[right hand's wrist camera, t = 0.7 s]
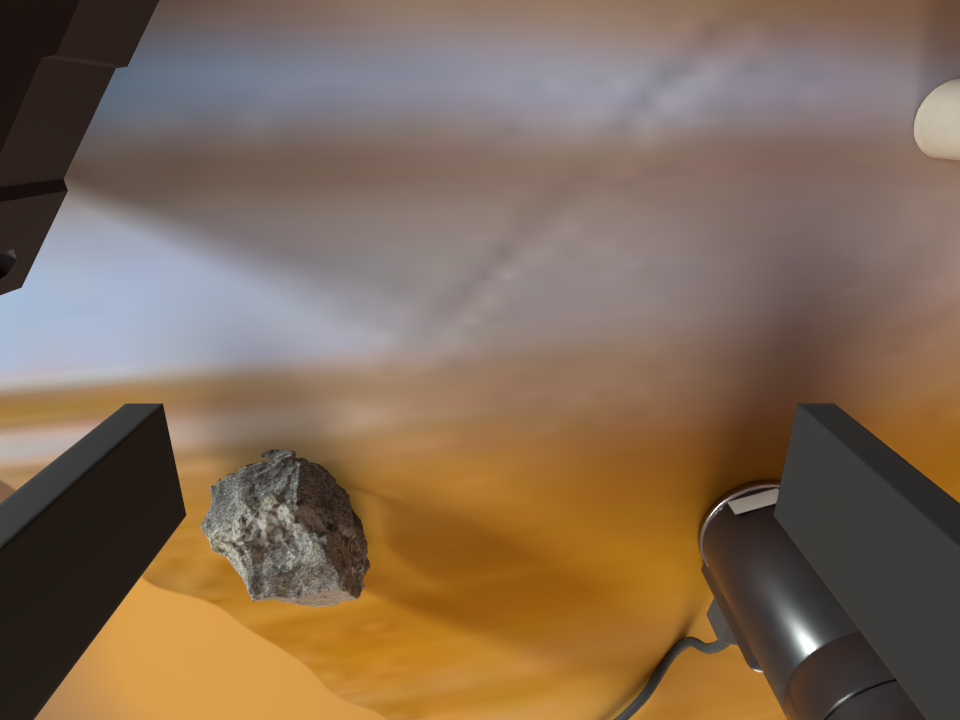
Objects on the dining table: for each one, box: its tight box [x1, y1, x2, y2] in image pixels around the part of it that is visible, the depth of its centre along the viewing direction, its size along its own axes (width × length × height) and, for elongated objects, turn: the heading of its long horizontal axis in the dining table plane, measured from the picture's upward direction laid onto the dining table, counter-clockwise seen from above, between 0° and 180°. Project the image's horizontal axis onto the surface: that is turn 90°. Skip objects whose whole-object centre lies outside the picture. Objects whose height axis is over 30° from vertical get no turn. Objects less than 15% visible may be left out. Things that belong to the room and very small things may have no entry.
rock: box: [200, 449, 370, 607], centre depth 43 cm, size 13×9×6 cm, turn 45°
